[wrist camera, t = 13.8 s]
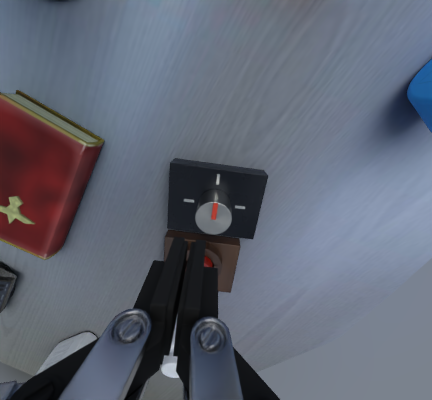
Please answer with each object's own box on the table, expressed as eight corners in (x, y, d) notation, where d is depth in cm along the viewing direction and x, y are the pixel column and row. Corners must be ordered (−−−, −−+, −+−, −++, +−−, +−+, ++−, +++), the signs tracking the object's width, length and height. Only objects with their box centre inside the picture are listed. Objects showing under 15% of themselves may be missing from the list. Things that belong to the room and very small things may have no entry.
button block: (166, 275, 37) (160, 293, 33) (168, 229, 33) (161, 243, 30) (230, 283, 37) (231, 301, 34) (239, 238, 34) (241, 253, 30)
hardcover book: (106, 141, 28) (88, 145, 24) (65, 246, 35) (45, 262, 31) (19, 90, 26) (-17, 85, 22) (-7, 212, 33) (-38, 225, 29)
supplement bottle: (173, 325, 42) (161, 381, 33) (168, 307, 40) (153, 361, 31) (199, 323, 42) (192, 380, 33) (194, 305, 40) (186, 359, 31)
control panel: (171, 219, 33) (166, 229, 30) (174, 158, 29) (169, 162, 26) (250, 229, 33) (253, 240, 30) (263, 170, 29) (268, 176, 26)
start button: (186, 273, 32) (184, 281, 31) (188, 253, 31) (186, 260, 29) (210, 276, 32) (210, 284, 31) (213, 256, 31) (213, 264, 29)
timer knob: (227, 219, 29) (228, 238, 24) (197, 215, 29) (193, 233, 24) (232, 191, 27) (234, 205, 23) (200, 187, 27) (196, 200, 23)
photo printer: (69, 353, 47) (20, 429, 35) (55, 342, 45) (-1, 418, 34) (102, 339, 45) (61, 416, 33) (88, 328, 43) (41, 403, 32)
